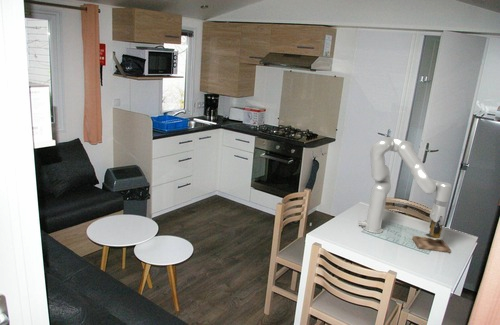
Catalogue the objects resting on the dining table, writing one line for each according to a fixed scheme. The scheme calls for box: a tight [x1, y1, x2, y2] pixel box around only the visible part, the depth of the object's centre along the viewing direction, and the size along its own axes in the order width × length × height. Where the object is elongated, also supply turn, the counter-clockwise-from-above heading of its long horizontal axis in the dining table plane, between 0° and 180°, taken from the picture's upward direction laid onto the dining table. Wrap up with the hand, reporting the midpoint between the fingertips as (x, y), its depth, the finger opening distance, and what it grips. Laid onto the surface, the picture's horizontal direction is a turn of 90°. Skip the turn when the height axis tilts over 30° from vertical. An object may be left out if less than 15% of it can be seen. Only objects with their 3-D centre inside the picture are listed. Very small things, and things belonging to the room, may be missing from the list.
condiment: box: [423, 221, 444, 240], centre depth 235 cm, size 7×8×12 cm
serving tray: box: [411, 235, 451, 254], centre depth 238 cm, size 18×13×2 cm
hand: (434, 230), depth 235 cm, fingers closed on condiment, 6 cm apart
